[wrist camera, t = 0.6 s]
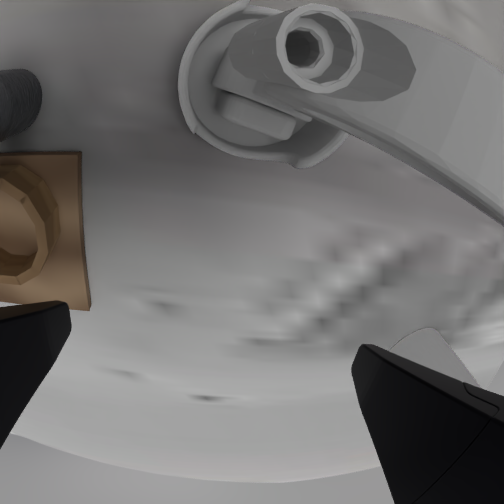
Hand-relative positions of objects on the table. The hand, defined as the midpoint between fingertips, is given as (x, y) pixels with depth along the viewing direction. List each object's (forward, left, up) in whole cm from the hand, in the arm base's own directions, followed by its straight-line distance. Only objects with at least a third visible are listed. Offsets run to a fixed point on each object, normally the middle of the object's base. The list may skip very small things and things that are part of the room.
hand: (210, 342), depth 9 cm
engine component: (-7, +4, -17) cm, 18 cm away
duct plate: (+6, -14, -16) cm, 22 cm away
